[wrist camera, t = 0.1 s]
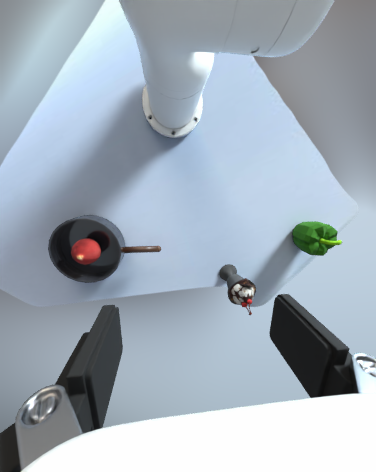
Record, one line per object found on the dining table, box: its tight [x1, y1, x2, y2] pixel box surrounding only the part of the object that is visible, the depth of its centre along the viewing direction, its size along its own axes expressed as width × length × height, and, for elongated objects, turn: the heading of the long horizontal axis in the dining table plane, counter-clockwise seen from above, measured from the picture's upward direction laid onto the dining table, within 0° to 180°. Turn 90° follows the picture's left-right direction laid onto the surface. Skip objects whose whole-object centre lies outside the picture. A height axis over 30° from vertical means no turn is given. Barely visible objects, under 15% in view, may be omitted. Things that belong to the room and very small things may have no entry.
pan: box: [48, 215, 125, 283], centre depth 43 cm, size 15×15×4 cm
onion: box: [71, 238, 101, 265], centre depth 42 cm, size 6×6×8 cm
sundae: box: [220, 265, 256, 315], centre depth 45 cm, size 7×7×15 cm
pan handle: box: [121, 246, 161, 253], centre depth 43 cm, size 9×1×1 cm, turn 89°
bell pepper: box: [292, 222, 342, 255], centre depth 46 cm, size 8×8×10 cm
